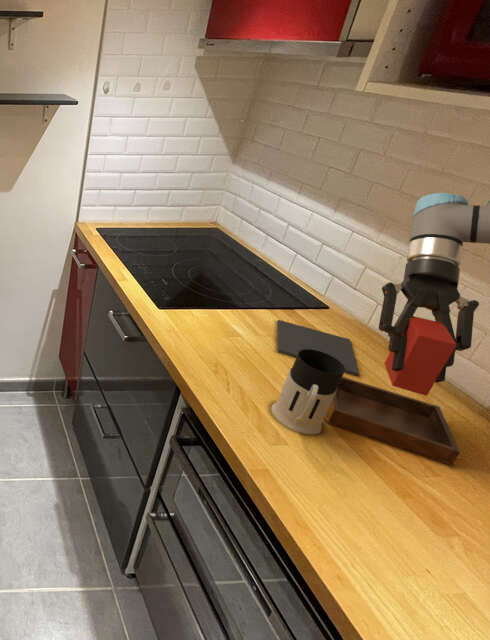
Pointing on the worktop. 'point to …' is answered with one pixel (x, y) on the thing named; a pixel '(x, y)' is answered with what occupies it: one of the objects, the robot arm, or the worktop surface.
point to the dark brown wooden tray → (393, 420)
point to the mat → (315, 344)
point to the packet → (422, 355)
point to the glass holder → (308, 391)
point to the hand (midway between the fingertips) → (417, 374)
